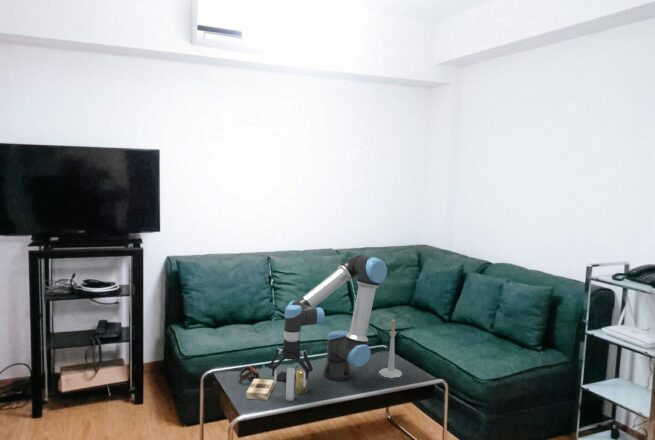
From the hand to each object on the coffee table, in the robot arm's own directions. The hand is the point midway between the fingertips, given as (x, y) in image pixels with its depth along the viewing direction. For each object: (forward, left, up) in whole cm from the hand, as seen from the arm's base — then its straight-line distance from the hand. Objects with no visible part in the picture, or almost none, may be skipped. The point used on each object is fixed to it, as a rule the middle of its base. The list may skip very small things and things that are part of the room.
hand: (289, 384), depth 232 cm
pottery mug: (+23, -18, -7) cm, 30 cm away
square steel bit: (0, 0, -7) cm, 7 cm away
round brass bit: (-4, -9, -7) cm, 12 cm away
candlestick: (-48, -38, -7) cm, 62 cm away
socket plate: (+15, -5, -7) cm, 17 cm away
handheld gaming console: (+6, -24, -7) cm, 26 cm away
